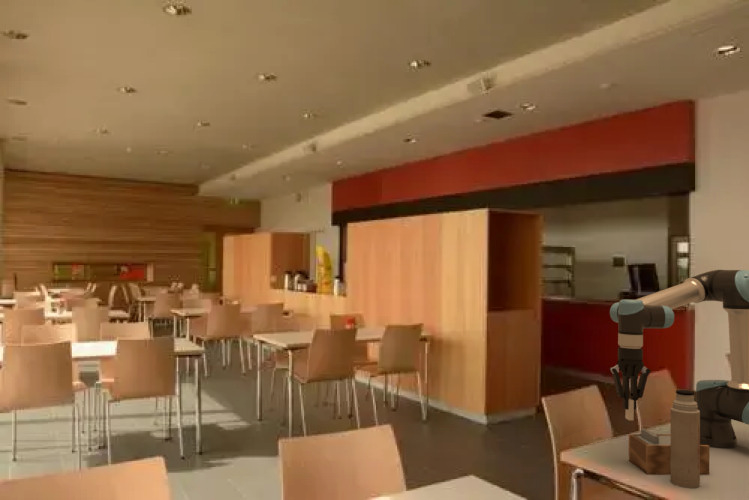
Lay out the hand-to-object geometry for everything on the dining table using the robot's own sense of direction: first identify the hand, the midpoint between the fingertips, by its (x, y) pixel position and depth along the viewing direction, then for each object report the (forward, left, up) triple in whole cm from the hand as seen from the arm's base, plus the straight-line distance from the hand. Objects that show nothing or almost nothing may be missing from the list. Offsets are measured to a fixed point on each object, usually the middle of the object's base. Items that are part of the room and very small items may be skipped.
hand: (629, 419), depth 199 cm
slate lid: (-12, 0, -8) cm, 15 cm away
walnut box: (-13, 0, -16) cm, 20 cm away
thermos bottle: (-11, +14, -16) cm, 24 cm away
